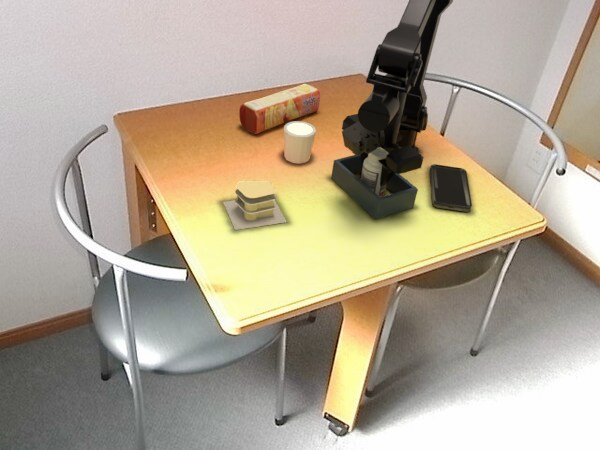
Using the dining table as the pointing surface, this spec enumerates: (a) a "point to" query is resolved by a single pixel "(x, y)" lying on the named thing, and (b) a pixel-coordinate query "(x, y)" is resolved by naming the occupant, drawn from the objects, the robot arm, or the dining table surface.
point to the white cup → (298, 141)
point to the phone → (450, 188)
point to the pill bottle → (374, 171)
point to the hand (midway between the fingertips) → (374, 178)
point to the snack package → (279, 108)
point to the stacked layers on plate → (254, 205)
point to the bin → (365, 196)
